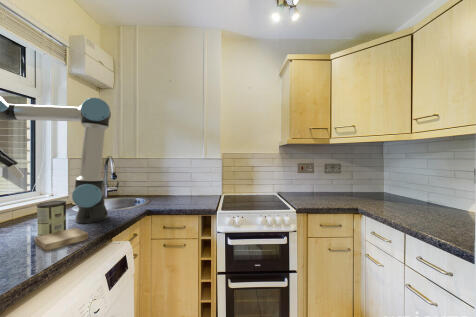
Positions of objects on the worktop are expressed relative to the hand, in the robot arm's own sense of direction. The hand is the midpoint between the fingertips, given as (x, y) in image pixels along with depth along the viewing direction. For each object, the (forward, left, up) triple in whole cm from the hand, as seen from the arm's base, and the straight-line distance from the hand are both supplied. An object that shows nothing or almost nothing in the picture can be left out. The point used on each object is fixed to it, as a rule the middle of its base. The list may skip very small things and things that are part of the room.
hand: (8, 179), depth 91 cm
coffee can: (-13, +5, -26) cm, 30 cm away
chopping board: (-12, +20, -26) cm, 35 cm away
